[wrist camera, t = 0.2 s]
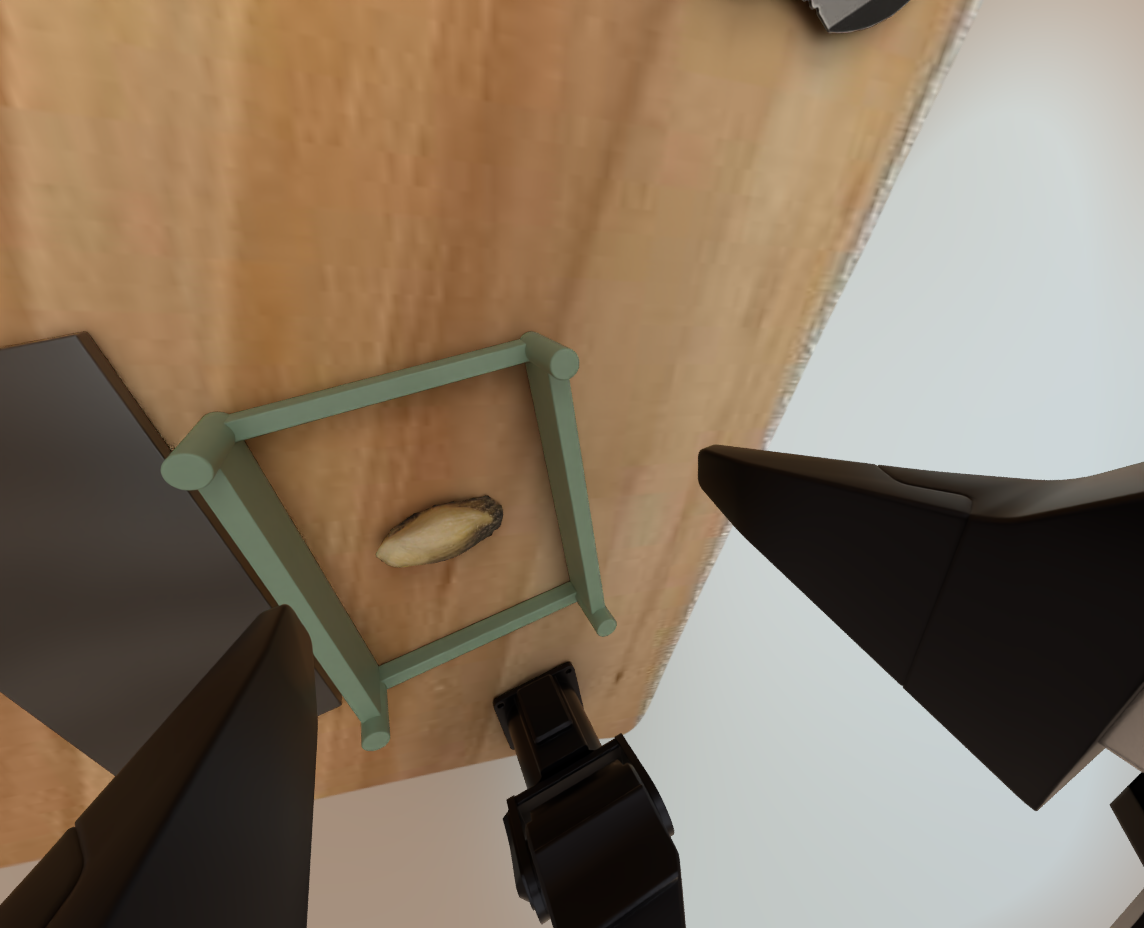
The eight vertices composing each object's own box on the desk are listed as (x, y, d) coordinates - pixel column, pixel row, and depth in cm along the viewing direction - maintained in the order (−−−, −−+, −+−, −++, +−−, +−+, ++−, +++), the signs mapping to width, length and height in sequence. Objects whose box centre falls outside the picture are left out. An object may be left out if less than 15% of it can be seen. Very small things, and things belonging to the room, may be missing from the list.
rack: (587, 585, 31) (618, 630, 28) (365, 686, 27) (367, 755, 23) (540, 328, 22) (577, 344, 18) (192, 417, 18) (149, 461, 14)
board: (342, 694, 26) (342, 705, 26) (148, 781, 24) (142, 797, 23) (87, 330, 15) (75, 334, 15) (-335, 412, 13) (-373, 421, 12)
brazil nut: (366, 553, 23) (384, 590, 21) (400, 473, 22) (421, 504, 20) (468, 555, 28) (490, 585, 26) (500, 489, 27) (526, 516, 25)
